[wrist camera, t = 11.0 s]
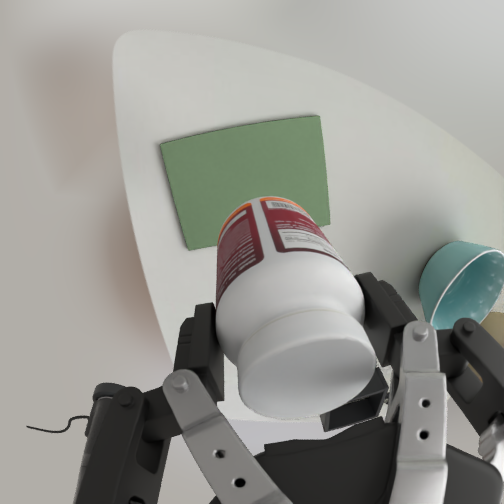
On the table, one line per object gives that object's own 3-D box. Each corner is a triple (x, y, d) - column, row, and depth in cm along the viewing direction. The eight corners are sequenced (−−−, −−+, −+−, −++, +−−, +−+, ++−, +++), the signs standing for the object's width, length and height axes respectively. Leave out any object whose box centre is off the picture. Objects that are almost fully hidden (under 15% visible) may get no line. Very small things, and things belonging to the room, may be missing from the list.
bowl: (485, 257, 36) (515, 282, 29) (429, 323, 41) (451, 355, 34) (453, 201, 31) (493, 226, 24) (383, 286, 36) (411, 324, 29)
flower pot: (441, 330, 43) (473, 375, 32) (503, 277, 39) (539, 312, 29) (446, 369, 51) (468, 406, 40) (499, 325, 47) (525, 357, 36)
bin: (319, 412, 51) (324, 432, 46) (319, 383, 45) (326, 406, 41) (370, 398, 51) (378, 416, 46) (379, 367, 45) (389, 387, 41)
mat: (188, 248, 32) (188, 250, 31) (160, 143, 26) (159, 144, 25) (329, 222, 31) (330, 224, 31) (318, 115, 26) (319, 115, 25)
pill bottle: (239, 293, 20) (251, 441, 10) (202, 215, 17) (172, 357, 7) (324, 263, 19) (394, 395, 9) (300, 179, 16) (396, 282, 7)
